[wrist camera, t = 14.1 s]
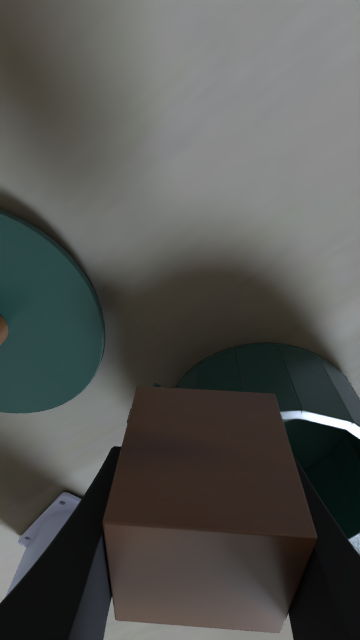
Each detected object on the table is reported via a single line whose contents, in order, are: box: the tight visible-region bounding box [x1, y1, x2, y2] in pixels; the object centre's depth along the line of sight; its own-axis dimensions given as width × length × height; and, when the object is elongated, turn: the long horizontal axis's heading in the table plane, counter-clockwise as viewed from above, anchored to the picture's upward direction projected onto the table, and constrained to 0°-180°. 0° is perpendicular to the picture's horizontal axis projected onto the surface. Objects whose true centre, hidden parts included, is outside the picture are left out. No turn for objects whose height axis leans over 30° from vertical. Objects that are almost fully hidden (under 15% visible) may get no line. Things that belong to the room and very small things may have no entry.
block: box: [103, 386, 317, 633], centre depth 10 cm, size 5×5×5 cm
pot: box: [127, 343, 360, 555], centre depth 21 cm, size 13×18×6 cm
